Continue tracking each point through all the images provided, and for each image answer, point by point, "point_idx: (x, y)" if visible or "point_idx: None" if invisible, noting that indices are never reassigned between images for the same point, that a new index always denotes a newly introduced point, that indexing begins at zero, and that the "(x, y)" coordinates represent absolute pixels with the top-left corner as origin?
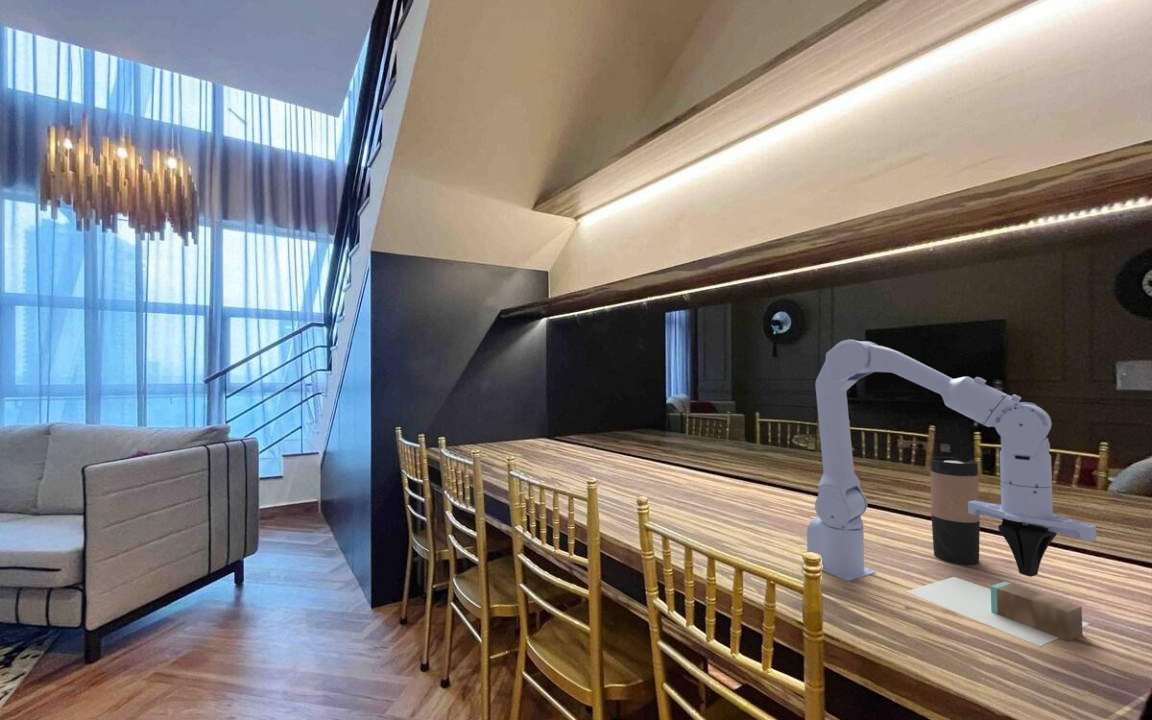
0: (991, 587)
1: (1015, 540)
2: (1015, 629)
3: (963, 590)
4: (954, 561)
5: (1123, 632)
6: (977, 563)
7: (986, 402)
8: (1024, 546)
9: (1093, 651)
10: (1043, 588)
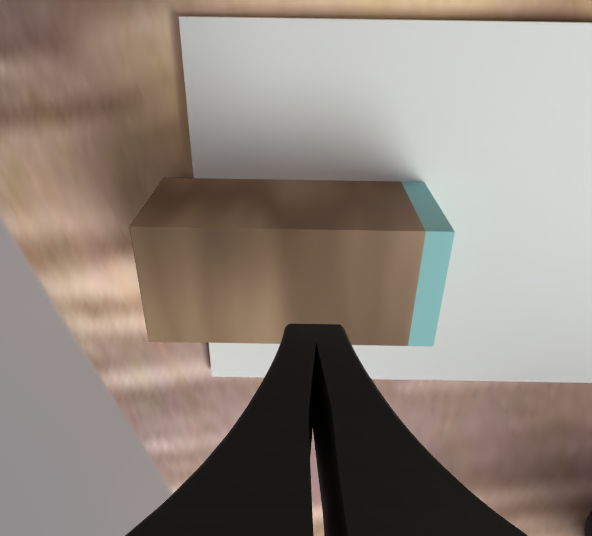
0: (448, 227)
1: (364, 486)
2: (301, 95)
3: (565, 291)
4: None
5: (157, 405)
6: (589, 531)
7: None
8: (293, 458)
9: (109, 196)
10: None
